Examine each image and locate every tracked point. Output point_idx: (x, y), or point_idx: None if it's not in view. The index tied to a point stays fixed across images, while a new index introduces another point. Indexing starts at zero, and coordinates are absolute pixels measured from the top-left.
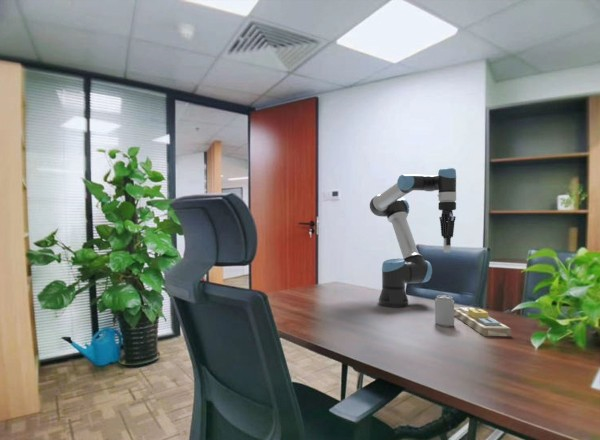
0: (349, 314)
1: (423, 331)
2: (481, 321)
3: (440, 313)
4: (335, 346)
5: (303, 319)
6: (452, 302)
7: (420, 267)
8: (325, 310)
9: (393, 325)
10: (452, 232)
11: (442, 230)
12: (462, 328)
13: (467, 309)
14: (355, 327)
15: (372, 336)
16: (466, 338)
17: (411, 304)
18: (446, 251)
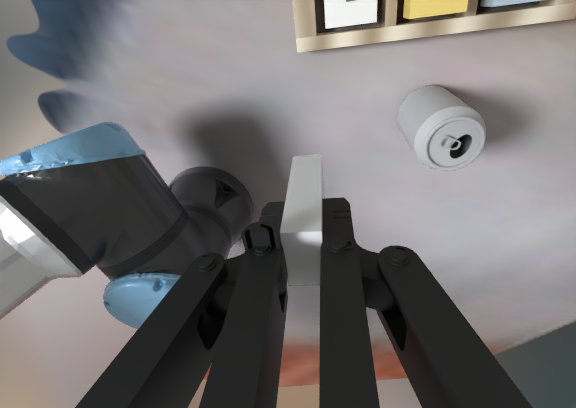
0: None
1: (478, 182)
2: (516, 3)
3: (454, 143)
4: (532, 327)
5: (376, 358)
6: (482, 118)
7: (128, 197)
8: (309, 331)
9: (422, 235)
10: (448, 308)
11: (205, 364)
12: (469, 66)
13: (356, 4)
14: None
15: (493, 278)
16: (561, 86)
17: (200, 156)
18: (323, 189)
